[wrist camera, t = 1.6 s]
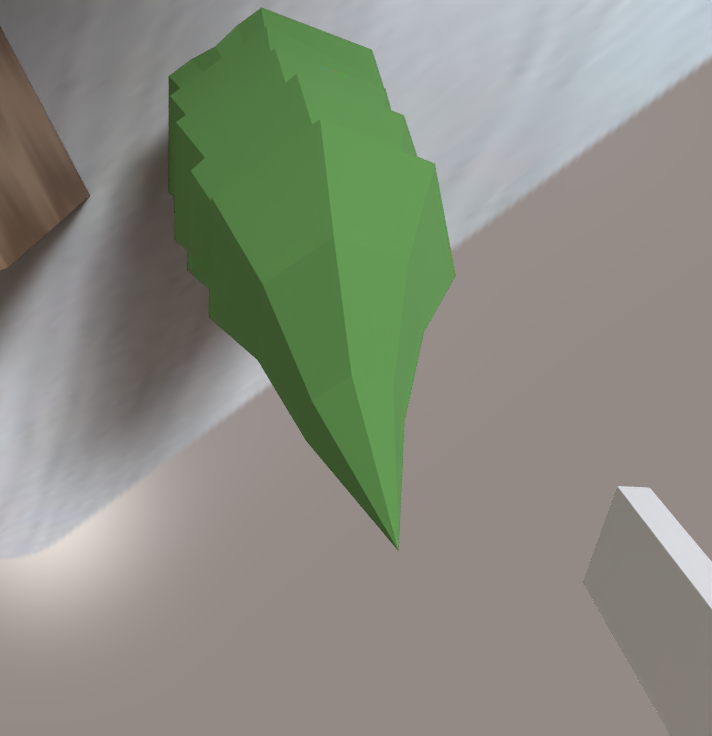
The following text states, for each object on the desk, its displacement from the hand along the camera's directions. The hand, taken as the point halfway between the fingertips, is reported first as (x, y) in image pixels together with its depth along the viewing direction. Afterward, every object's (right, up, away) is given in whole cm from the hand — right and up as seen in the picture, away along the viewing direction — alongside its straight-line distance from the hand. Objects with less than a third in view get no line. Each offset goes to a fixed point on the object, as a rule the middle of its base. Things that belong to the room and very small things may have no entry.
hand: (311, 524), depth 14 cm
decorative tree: (-3, +15, +20) cm, 25 cm away
